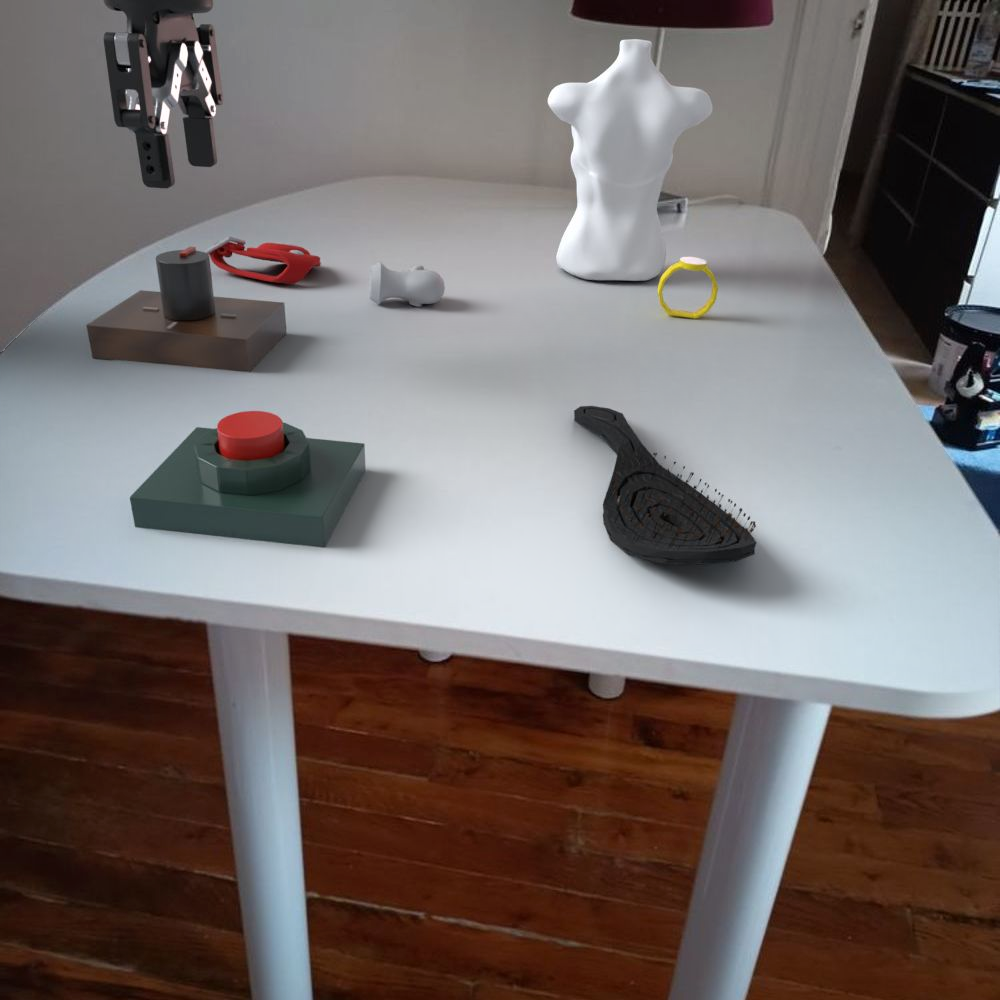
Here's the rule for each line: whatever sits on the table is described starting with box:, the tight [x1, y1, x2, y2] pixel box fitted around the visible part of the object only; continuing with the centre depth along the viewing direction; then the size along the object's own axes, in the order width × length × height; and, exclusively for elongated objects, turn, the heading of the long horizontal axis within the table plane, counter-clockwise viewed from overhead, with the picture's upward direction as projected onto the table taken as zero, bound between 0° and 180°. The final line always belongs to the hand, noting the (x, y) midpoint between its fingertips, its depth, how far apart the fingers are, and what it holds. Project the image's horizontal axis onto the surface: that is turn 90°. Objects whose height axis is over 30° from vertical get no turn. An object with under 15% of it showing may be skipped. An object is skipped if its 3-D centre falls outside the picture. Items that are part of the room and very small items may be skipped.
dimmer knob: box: [155, 246, 215, 321], centre depth 80 cm, size 4×4×5 cm
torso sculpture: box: [547, 38, 714, 282], centre depth 103 cm, size 18×10×25 cm, turn 95°
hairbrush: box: [573, 405, 758, 565], centre depth 62 cm, size 8×4×25 cm
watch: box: [657, 256, 719, 320], centre depth 95 cm, size 6×3×6 cm, turn 86°
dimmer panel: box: [86, 289, 287, 373], centre depth 82 cm, size 14×10×3 cm
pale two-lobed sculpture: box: [368, 261, 446, 308], centre depth 95 cm, size 4×8×5 cm
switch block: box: [129, 421, 366, 548], centre depth 59 cm, size 12×10×4 cm
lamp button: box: [216, 410, 285, 461], centre depth 58 cm, size 4×4×2 cm
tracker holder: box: [203, 236, 322, 285], centre depth 101 cm, size 12×4×10 cm
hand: (182, 176), depth 72 cm, fingers open, 8 cm apart
